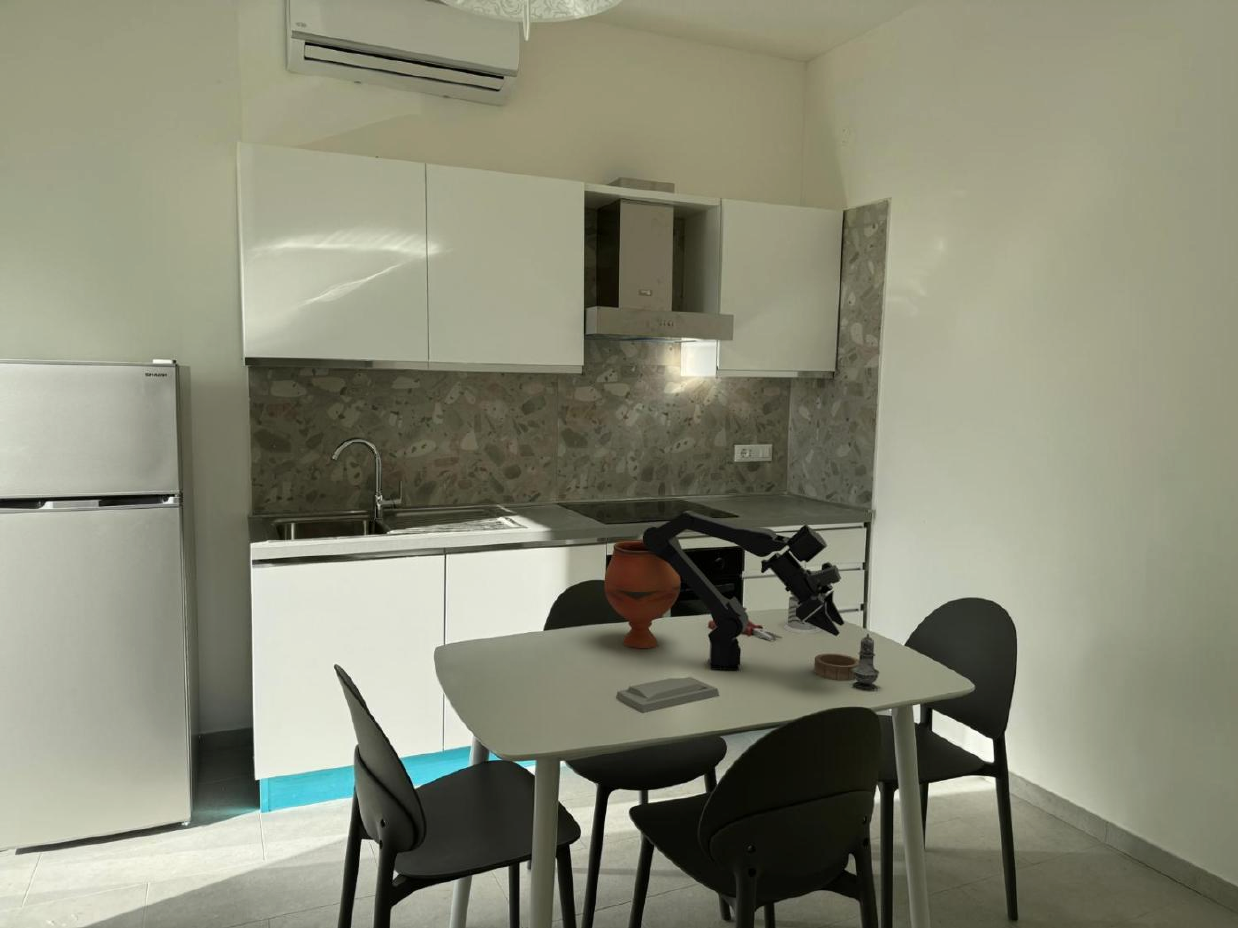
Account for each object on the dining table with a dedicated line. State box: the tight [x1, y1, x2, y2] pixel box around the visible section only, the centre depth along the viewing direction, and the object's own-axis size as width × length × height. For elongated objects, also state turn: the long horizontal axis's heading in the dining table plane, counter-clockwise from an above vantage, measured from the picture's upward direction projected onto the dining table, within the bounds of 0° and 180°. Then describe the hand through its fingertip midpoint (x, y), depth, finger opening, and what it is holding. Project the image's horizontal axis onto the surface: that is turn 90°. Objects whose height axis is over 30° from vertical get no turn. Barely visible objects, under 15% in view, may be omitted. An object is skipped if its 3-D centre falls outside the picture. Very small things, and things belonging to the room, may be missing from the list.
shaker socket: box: [813, 653, 859, 681], centre depth 207 cm, size 10×10×3 cm
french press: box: [783, 561, 821, 635], centre depth 243 cm, size 10×12×25 cm
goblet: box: [603, 540, 681, 649], centre depth 223 cm, size 19×19×25 cm
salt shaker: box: [851, 633, 881, 692], centre depth 197 cm, size 6×6×12 cm
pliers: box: [707, 619, 783, 641], centre depth 238 cm, size 12×20×3 cm, turn 41°
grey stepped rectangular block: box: [615, 676, 720, 714], centre depth 187 cm, size 10×20×4 cm, turn 125°
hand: (840, 629), depth 199 cm, fingers open, 9 cm apart
